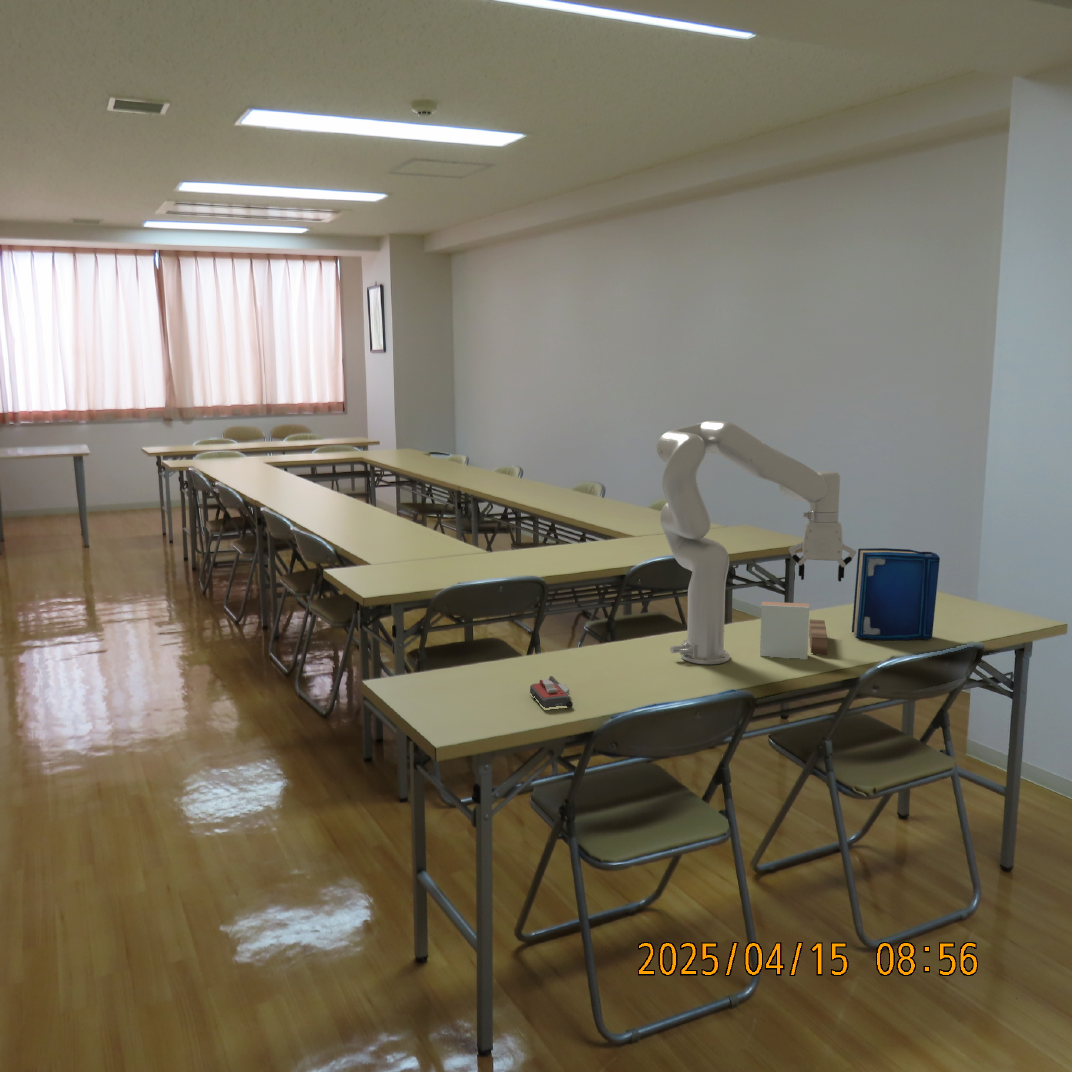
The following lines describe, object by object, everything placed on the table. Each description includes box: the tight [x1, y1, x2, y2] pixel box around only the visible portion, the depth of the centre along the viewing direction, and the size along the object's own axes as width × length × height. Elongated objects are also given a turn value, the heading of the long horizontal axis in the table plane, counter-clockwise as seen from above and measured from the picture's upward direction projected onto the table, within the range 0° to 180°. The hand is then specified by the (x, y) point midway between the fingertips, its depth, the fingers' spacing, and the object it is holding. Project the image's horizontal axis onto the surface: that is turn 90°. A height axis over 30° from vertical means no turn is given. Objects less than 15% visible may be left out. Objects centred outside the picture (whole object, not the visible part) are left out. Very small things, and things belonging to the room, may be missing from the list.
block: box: [808, 618, 829, 656], centre depth 253 cm, size 18×4×5 cm, turn 166°
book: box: [851, 547, 941, 641], centre depth 257 cm, size 22×7×25 cm, turn 84°
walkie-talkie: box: [529, 675, 574, 708], centre depth 217 cm, size 9×4×20 cm
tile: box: [759, 601, 810, 660], centre depth 243 cm, size 4×12×14 cm, turn 75°
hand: (820, 579), depth 251 cm, fingers open, 9 cm apart
